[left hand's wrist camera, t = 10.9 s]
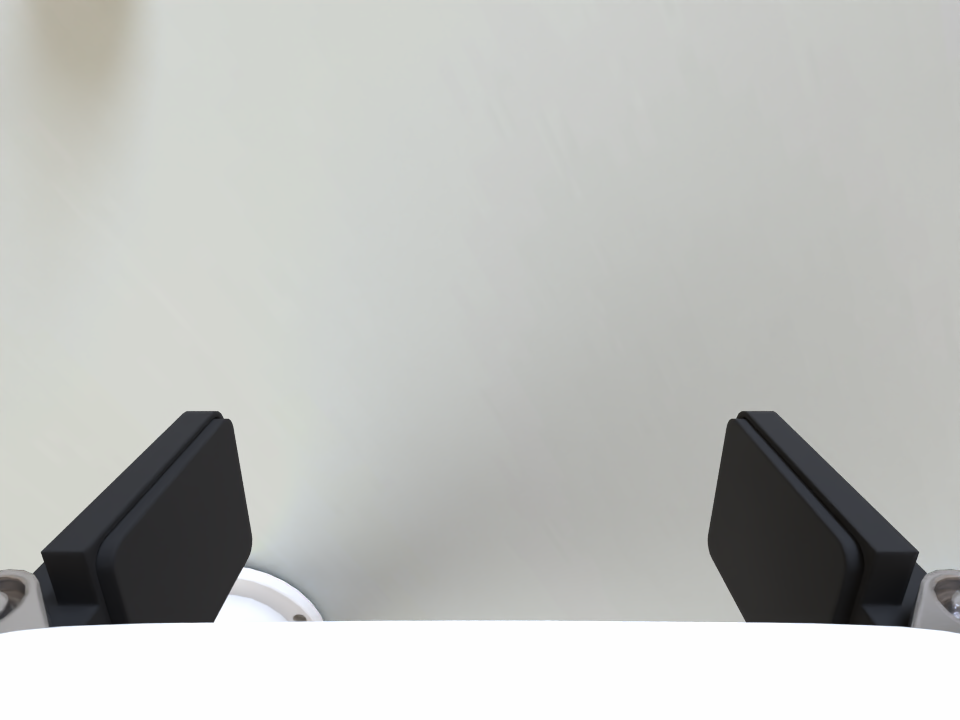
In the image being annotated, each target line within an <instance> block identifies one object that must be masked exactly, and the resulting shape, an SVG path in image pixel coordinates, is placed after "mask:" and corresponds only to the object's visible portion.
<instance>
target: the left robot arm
mask: <svg viewBox="0 0 960 720" xmlns="http://www.w3.org/2000/svg"><path fill="white" fill-rule="evenodd" d="M251 547H252V533H251V528H250V522H249V516H248V510H247V504H246V498H245V493H244V487H243V481H242V475H241V469H240V463H239V457H238V452H237V446H236V440H235V434H234V428H233V424H232V422H231V420H229V419H224V418H223V416H222V414H221V413H220V412H218V411H186V412H185V413H183V414H182V415H181V416H180V417H179V418H178V419H177V420H176V421H175V422H174V423H173V424H172V425H171V426H170V427H169V428H168V429H167V430H166V431H165V432H164V433H163V434H162V435H161V436H160V437H158V438H157V439H156V440H155V441H154V442H153V443H152V444H151V445H150V446H149V447H148V448H147V449H146V450H145V451H144V452H143V453H142V454H141V455H140V456H139V457H138V458H137V459H136V460H135V461H134V462H133V463H132V464H131V465H130V466H129V467H128V468H127V469H126V470H125V471H124V472H123V473H122V474H120V475H119V476H118V477H117V478H116V479H115V480H114V481H113V482H112V483H111V484H110V485H109V486H108V487H107V488H106V489H105V490H104V491H103V492H102V493H101V494H100V495H99V496H98V497H97V498H96V499H95V500H94V501H93V502H92V503H91V504H90V505H89V506H88V507H87V508H86V509H85V510H84V511H82V512H81V513H80V514H79V515H78V516H77V517H76V518H75V519H74V520H73V521H72V522H71V523H70V524H69V525H68V526H67V527H66V528H65V529H64V530H63V531H62V532H61V533H60V534H59V535H58V536H57V537H56V538H55V539H54V540H53V541H52V542H51V543H50V544H49V545H48V546H47V547H46V548H44V549H43V550H42V551H41V554H42V557H43V560H44V563H43V564H42V565H41V566H40V567H39V568H38V569H37V570H36V571H35V572H34V573H33V574H32V573H29V572H27V571H25V570H13V569H7V570H0V720H960V570H953V569H947V570H935V571H933V572H931V573H928V574H927V573H926V572H925V571H924V570H923V569H922V568H921V567H920V566H919V565H918V564H917V563H916V560H917V557H918V554H919V551H918V550H917V549H916V548H914V547H913V546H912V545H911V544H910V543H909V542H908V541H907V540H906V539H905V538H904V537H903V536H902V535H901V534H900V533H899V532H898V531H897V530H896V529H895V528H894V527H893V526H892V525H891V524H890V523H889V522H888V521H887V520H886V519H885V518H884V517H883V516H882V515H881V514H880V513H879V512H878V511H876V510H875V509H874V508H873V507H872V506H871V505H870V504H869V503H868V502H867V501H866V500H865V499H864V498H863V497H862V496H861V495H860V494H859V493H858V492H857V491H856V490H855V489H854V488H853V487H852V486H851V485H850V484H849V483H848V482H847V481H846V480H845V479H844V478H843V477H842V476H841V475H840V474H838V473H837V472H836V471H835V470H834V469H833V468H832V467H831V466H830V465H829V464H828V463H827V462H826V461H825V460H824V459H823V458H822V457H821V456H820V455H819V454H818V453H817V452H816V451H815V450H814V449H813V448H812V447H811V446H810V445H809V444H808V443H807V442H806V441H805V440H804V439H803V438H802V437H800V436H799V435H798V434H797V433H796V432H795V431H794V430H793V429H792V428H791V427H790V426H789V425H788V424H787V423H786V422H785V421H784V420H783V419H782V418H781V417H780V416H779V415H778V414H777V413H775V412H774V411H742V412H740V413H739V414H738V416H737V418H736V419H731V420H729V422H728V424H727V428H726V434H725V440H724V446H723V452H722V457H721V463H720V469H719V475H718V481H717V487H716V493H715V498H714V504H713V510H712V516H711V522H710V528H709V533H708V547H709V552H710V555H711V557H712V559H713V561H714V563H715V565H716V567H717V569H718V571H719V572H720V574H721V576H722V578H723V580H724V582H725V584H726V586H727V587H728V589H729V591H730V593H731V595H732V597H733V599H734V601H735V602H736V604H737V606H738V608H739V610H740V612H741V614H742V616H743V617H744V619H745V621H746V623H736V622H625V621H323V619H322V617H321V615H320V613H319V612H318V611H317V609H316V608H315V607H314V605H313V604H312V603H311V602H310V601H309V600H308V599H307V598H306V597H305V596H304V595H303V594H302V593H301V592H299V591H298V590H297V589H295V588H294V587H292V586H291V585H289V584H288V583H286V582H285V581H283V580H281V579H278V578H276V577H274V576H272V575H270V574H267V573H264V572H261V571H257V570H254V569H250V568H244V565H245V563H246V561H247V559H248V557H249V555H250V552H251Z"/></svg>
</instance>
